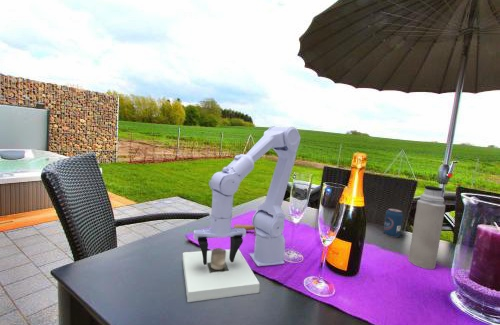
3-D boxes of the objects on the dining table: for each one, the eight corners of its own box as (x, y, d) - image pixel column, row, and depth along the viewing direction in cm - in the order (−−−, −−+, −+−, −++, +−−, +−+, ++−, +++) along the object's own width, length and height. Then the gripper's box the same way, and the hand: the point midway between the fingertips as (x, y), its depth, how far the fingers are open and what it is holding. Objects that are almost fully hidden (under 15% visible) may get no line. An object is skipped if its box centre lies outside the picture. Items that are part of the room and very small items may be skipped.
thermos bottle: (410, 255, 94) (421, 183, 91) (436, 264, 88) (449, 188, 86) (406, 262, 88) (418, 185, 85) (433, 271, 83) (447, 190, 80)
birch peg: (222, 270, 73) (224, 247, 72) (225, 278, 69) (227, 254, 68) (208, 271, 71) (210, 248, 71) (211, 279, 68) (212, 255, 67)
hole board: (237, 255, 82) (238, 248, 82) (258, 292, 64) (259, 283, 63) (182, 260, 77) (182, 252, 76) (187, 302, 58) (188, 292, 58)
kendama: (233, 239, 99) (278, 236, 99) (233, 223, 99) (277, 220, 99) (235, 234, 107) (277, 232, 106) (234, 220, 107) (276, 218, 107)
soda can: (379, 232, 117) (383, 207, 116) (391, 231, 119) (395, 207, 118) (391, 238, 111) (394, 212, 110) (403, 237, 112) (407, 212, 111)
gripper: (242, 210, 74) (238, 253, 76) (193, 211, 70) (190, 256, 71) (249, 218, 68) (245, 264, 69) (196, 219, 63) (193, 269, 65)
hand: (218, 261), depth 70 cm, fingers open, 7 cm apart
